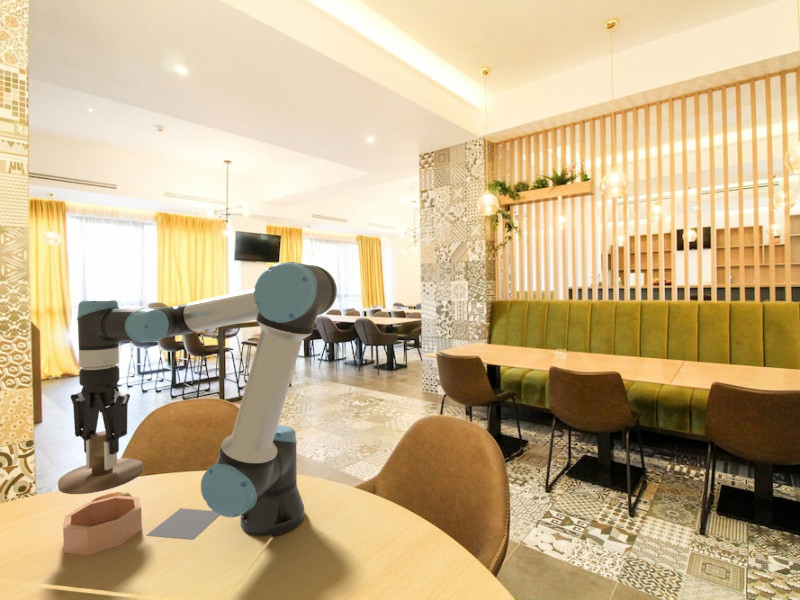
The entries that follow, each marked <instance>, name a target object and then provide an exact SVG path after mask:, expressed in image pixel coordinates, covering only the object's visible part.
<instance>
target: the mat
mask: <svg viewBox="0 0 800 600" xmlns="http://www.w3.org/2000/svg"><path fill="white" fill-rule="evenodd" d="M218 517H220V515H219V514H217V513H215V512H214V511H213V510H209V509H208V510H207V509H206V510H205V509H195V508H193V509H192V508H182V507H181V508H179V509H178V510H177V511H175V512H174V513H173V514H172V515H170V516H168V517H167V518H166V519H165V520H164V521H162V522H161V523H160V524H159V525H157V526H156V527H155V528H154V529H152V530H151V531H150V532H148V533H146V536H148V537H158V538H159V537H160V538H171V539H182V540H195V539H196V538H197V537H198V536H199V535H200V534H201V533H202V532H203V531H204V530H206V529H207V528H208V527H209V526H210V525H211V524H212V523H214V521H215V520H216V519H217V518H218Z"/></svg>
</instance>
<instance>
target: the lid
mask: <svg viewBox="0 0 800 600" xmlns="http://www.w3.org/2000/svg"><path fill="white" fill-rule="evenodd" d="M106 439H107V436H106V431H105V430H103V431H96V433H94V434H92V435H91V463H92V468H90V469H87V467H86V464H85V465H82V466H79V467H76V468H74V469H72V470H70V471H68V472H66V473H65V474H63V475H61V476H60V478H59V479H58V481H57V489H58V491H59V492H60V493H63V494H67V495H86V494H93V493H98V492H104V491H107V490H111V489H114V488H116V487H117V488H118V487H120V486H123V485H125V484H128V483H129V482H132V481H133V480H135V479H136V478H138V477H140V476H141V474H142V473H143V471H144V464H143V461H141V460H139V459H136V458H130V457H129V458H127V457H126V458H125V457H124V458H123V457H120V458H117V465H116V466H114V467H112V468H111V469H109V470H105V469H104V440H106Z"/></svg>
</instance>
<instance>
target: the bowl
mask: <svg viewBox="0 0 800 600" xmlns="http://www.w3.org/2000/svg"><path fill="white" fill-rule="evenodd" d="M131 496H132V495H131ZM131 496H114V497H110V498H106V499H102V500H98V501H94V502H91V501H90V502H87V503H86V504H84V505H82V506H80V507H78V508H77V509H74V510H73V511H71V512H70V513H68V514H66V515H64V518H63V519H64V521H63V526H62V527H63V530H62V531H63V532H62V533H63V535H62V536H63V554H70V555H71V554H72V555H81V556H82V555H83V556H91V555H93V554H97V553H101V552H104V551H106V550H107V551H108V550H111V549H113V548H117V547H119V546H122V545H124V544H125V543H126V542H127V541H129V540H130V539H131V538H133V537H134V536H136V535H137V534H138V533H140V531H142V530H143V527H142V526H143V524H142V523H143V522H142V521H143V520H142V518H143V517H142V504H141V500H140V497H139V496H132V497H131Z"/></svg>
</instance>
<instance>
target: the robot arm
mask: <svg viewBox="0 0 800 600" xmlns="http://www.w3.org/2000/svg"><path fill="white" fill-rule="evenodd" d="M337 288H338V287H337V284H336V281H335V278H334V277H333V275H332V274H331V273H330V272H329V271H328V270H326V269H325V268H323V267H321V266H318V265H313V264H312V265H311V264H304V263H301V262H295V261H287V262H280V263H279V262H278V263H275V264H273V265H271V266H269V267H268V268H266V269H265V270H264V271H262V273H261V274H260V276H259V277H258V279H257V280H256V282H255V284H254V288H251V289H247V290H242V291H238V292H234V293H230V294H223V295H219V296H216V297H215V296H214V297H210V298H206V299H201V300H196V301H192V302H188V303H184V304H178V305H173V306H172V305H171V306H161V307H160V306H159V307H158V306H157V307H141V308H140V307H139V308H119V303H118V301H117V300H116V299H85V300H81V301H80V302H79V303H78V307H77V317H76V321H77V335H78V367H80V370H78V374H79V376H78V377H79V379H78V380H79V385H80V386H82V388H81V391H80V392H76V393H73V394H71V395H70V400H71V402H72V406H73V420H74V421H73V422H74V435H75V437H77V438H78V437H80V438H82V440H83V448H84V449H83V451H84V453H85V458H86V459H85V460H86V461H85V462H86V464H85V465H86V467H87V469H90V468H92V463H91V435H92V434H94V433H97V427H98V421H99V414H100V413H101V416H102V420H103V425H104V431H106V436H107V439H106V440H104V469H105V470H109V469H111V468H112V467H114V466H116V465H117V459H118V454H117V453H119V451H120V438H122V437H125V436H127V434H128V403H129V400H130V398H131V395H130V394H129V393H122V392H120V390H119V387H118V383H119V381H120V367H119V365H118V364H119V363H120V354H119V352H120V351H119V350H120V349H119V347H120V346H119V345H120V344H119V343H120V342H131V343H133V342H134V343H139V344H140V343H141V344H145V343H155V342H159V341H161V340H162V339H163V338H168V337H176V336H177V337H178V336H185V335H191V334H193V333H196V332H201V331H206V330H211V329H217V328H221V327H225V326H231V325H236V324H241V323H246V322H251V321H255V320H256V323H257V324H258V326H259V327H260V329H261V331H260V335H259V338H258V341H257V345H256V348H255V351H254V355H253V359H252V362H251V367H250V368H249V369H250V370H249V373H248V377H247V380H246V383H245V387H244V391H243V395H242V398H241V402H240V405H239V409H238V412H237V416H236V420H235V422H234V425H233V430H232V432H231V433H232V434H230V435H228V436H227V437H225V438H224V439H223V440H222V442H221V446H220V449H219V451H218V454H217V455H218V456H217V460H216V461H215V464H212V465H211V466H209V467H208V468H207V470H206V471H205V472H204V473H203V475H202V477H201V481H200V492H201V495H202V498H203V500H204V501H205V502H206V505H207V506H208V508H209V509H210V510H211V511H214V512H215V513H217V514H219V516H221V517H224V518H237V517H240V527H241V529H242V530H243V532H245V533H247V534H248V535H253V536H258V537H268V536H270V538H271V537H277V536H282V535H284V534H286V533H289V532H291V531H293V530H294V529H296V528H297V527H298V526H299V525H301V523H303V521H304V518H305V504H304V503H303V499H302V496H301V494H300V491H299V488H298V486H297V485H298V483H297V482H298V480H297V477H298V476H297V443H298V441H297V436H296V435H297V434H296V430H295V429H294V428H292V427H290V426H288V425H287V426H286V425H279V422H280V419H281V416H282V412H283V410H284V409H283V407H284V404H285V401H286V397H287V394H288V390H289V388H290V384H291V381H292V377H293V374H294V370H295V368H296V367H295V366H296V363H297V359H298V356H299V353H300V350H301V346H302V342H303V340H304V339H307V337H309V336H311V335H313V331H314V327H315V324H316V322H317V317H318V316H320V315H322V314H325V313H326V312H328V311H329V310H330V309H331V308H332V307H333V305H334V303H335V302H336V298H337V293H338V289H337Z"/></svg>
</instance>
